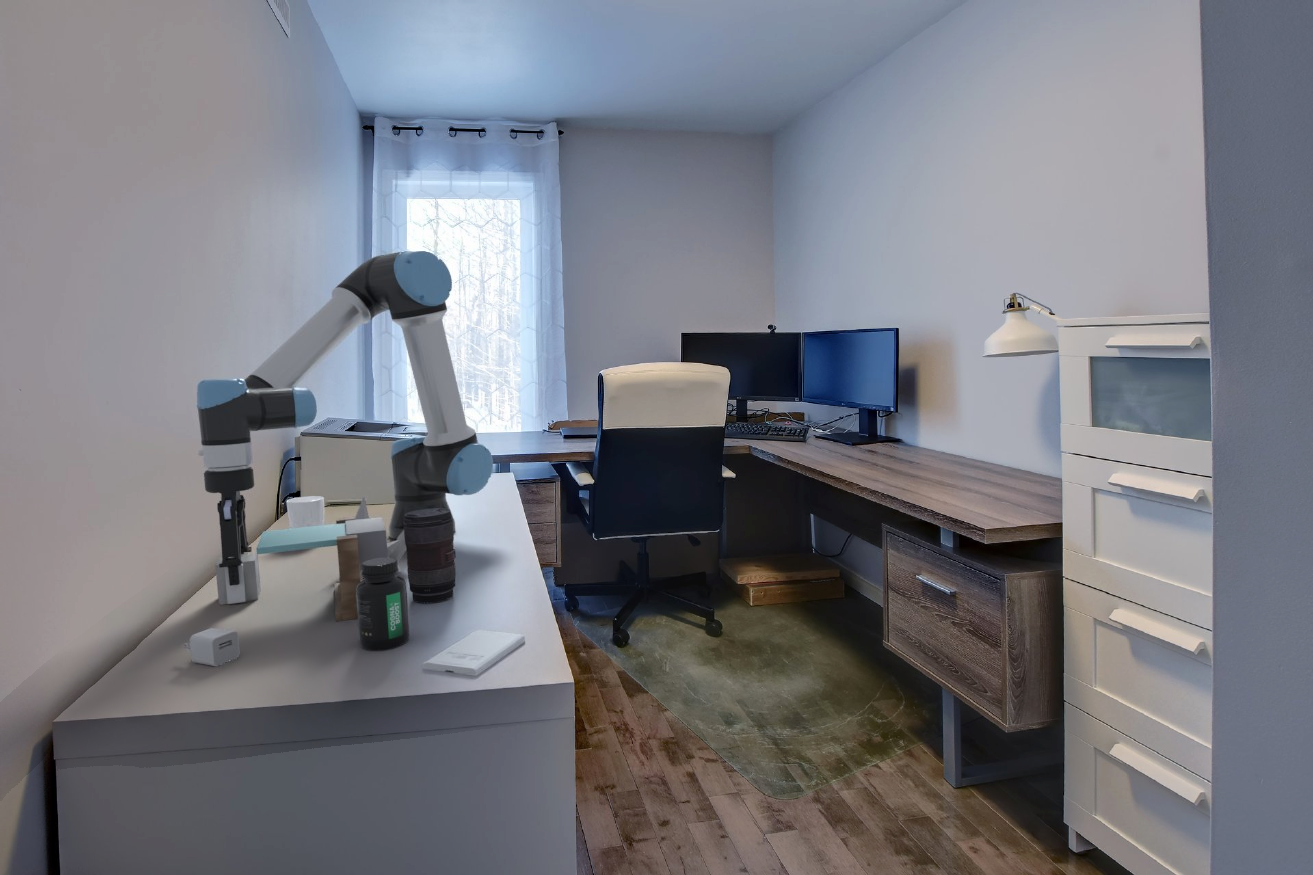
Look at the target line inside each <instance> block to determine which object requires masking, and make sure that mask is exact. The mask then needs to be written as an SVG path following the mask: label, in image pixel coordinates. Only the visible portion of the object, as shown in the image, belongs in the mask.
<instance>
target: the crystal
mask: <svg viewBox="0 0 1313 875" xmlns="http://www.w3.org/2000/svg"><path fill="white" fill-rule="evenodd" d="M369 516H370V515H369V511H368V507H367V502H366V498H365V496H363V497H362V500H361V502H360V504H359V507H358V509H357V511H356V514H355V516H354V520H359V519H369V518H370V517H369ZM406 552H407V550H406V545H405V537H404V530H403V531H402V533H401V534H400V535H399V536H398V538H397V539H396V540H393V541H391V540H390V539H388V540H387V553H388V558H395V559H396V560H397V564H399V562H400V561H401V559H402V558H403V556H404V554H405V553H406ZM359 568H360V580H362V579H361V578H364V577H362V574H361V573H362V563H359ZM400 569H401V568H400V566H399V565H398V572H399V570H400ZM400 571H401V570H400Z"/></svg>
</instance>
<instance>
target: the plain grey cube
mask: <svg viewBox="0 0 1313 875" xmlns="http://www.w3.org/2000/svg"><path fill="white" fill-rule="evenodd" d="M244 554H245V555H241V560H242V563H241V564H243V572H244V584H245V595H246V602H248V601H249V602H251V601H257V600H259V598H260V595H261V592H262V591H261V588H262V587H261V576H260V564H259V563H260V562H259V554H258V555H257V552H256V553H255V552H254V553H248V554H246V553H244ZM228 558H234V557H228ZM221 563H222V556H221V557H218V560H217V561H216V563H215V576H216V586H217V587H216V588H217V598H218V605H219V606H220V605H221V606H222V605H226V604H227V605H229V604H228V602H227V591H226V579H225V568H224V567H222V568H220V567H219V564H221Z"/></svg>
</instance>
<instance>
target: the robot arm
mask: <svg viewBox="0 0 1313 875" xmlns="http://www.w3.org/2000/svg"><path fill="white" fill-rule="evenodd" d="M452 289H453V280H452V275H451V272H450V270H449V268H448V266H447V264H446V263H445V261H444V260H443V259H441V258H440V257H439V256H438V255H436V253H434V252H432V251H430V250H426V249H406V250H403V251H396V252H393V253H388V254H380V255H376V256H373V257H371V258H369V259H367V260H366V261H364V262H363V263H362V264H360V265H359V266H358V267H356V269H354V270H353V271H352V272H351V273H350V274H348V275H347V276H346V277H345V278H344V279H343V280H342V281H341V282H340V283H339V284H337V285H336V287H335V288H334V289H332V291H331V299H329V301H327V302H326V303H325V304H324V305H323V306H321V307H320V308H319V310H318V311H317V312H315V313H314V314H313V315H312V316H311V317H310V318H309V319H308V320H307V321H305V322H304V324H303V325H302V326H301V327H299V329H297V330H296V331H295V332H294V333H293V334H292V335H291V336H290V337H289V338H287V339H286V341H285V342H283V343H282V344H281V346H279V347H278V348H276V350H275V351H274V352H273V353H272V354H271V355H270V356H269V357H267V358H266V359H265V360H264V362H262V363H261V364H260V365H259V366H258V367H257V368H256V369H255V370H253V372H251V373H250V375H248V376H247V377H246V378H220V379H217V378H215V379H213V378H212V379H203V380H200V381H199V383H198V384H197V387H196V389H197V390H196V391H197V392H196V402H197V404H196V407H197V408H196V409H197V411H198V414H197V415H198V420H199V431H200V438H201V439H200V440H201V443H200V444H201V449H200V450H198V452H197V455H198V456H199V457H201V456H203V457H202V461H203V463H202V465H203V468H205V469H207V470H205V471H204V473H203V477H204V489H205V491H206V492H207V493H210V494H221V495H220V500H219V501H218V502H217V512H218V516H219V517H218V518H219V528H220V529H219V530H220V544H221V545H220V546H221V557H222V563H221V564H219V567H220V568H222V567H224V568H225V579H226V591H227V602H228V604H227V605H230V604H239V603H246V602H247V601H246V595H245V584H244V572H243V564H241V563H242V560H241V555H245V554H249V553H252V551H253V550H252V546H249V542H248V536H247V535H248V534H247V525H246V498H245V497H244V495H243V494H241V492H243V491H248V490H251V489H253V488H254V486H255V476H254V468H252V467H251V466H250V465H252V464H253V462H254V461H253V460H254V459H253V448H252V439H251V432H258V431H267V430H268V431H270V430H280V429H281V430H282V429H283V430H284V429H297V428H301V427H309V426H310V425H311V424H313V422H314V421H315V419H316V416H317V413H318V412H317V411H318V410H317V409H318V408H317V407H318V406H317V400H316V398H315V395H314V393H313V392H312V391H311V390H310V389H309V388H308V387H304V386H299V384H301V382H302V381H304V379H305V378H306V377H308V375H310V373H312V371H313V370H315V369H316V368H317V367H318V366H319V364H321V363H322V362H323V361H324V359H326V358H327V357H328V356H329V355H330V354H331V353H332V352H333V351H334V350H335V349H336V348H337V347H338V346H339V345H340V344H341V343H342V342H343V341H344V340H345V339H346V338H347V337H348V336H349V335H350V334H351V333H352V332H353V331H354V330H355V329H356V328H357V327H358V326H359V325H365V324H369V323H370V322H371V321H372V320H373V319H374V317H376V316H377V315H380V314H381V313H384V312H387V311H389V313H390V317H391V321H392V322H394V323H395V324H397V325H399V326H400V328H401V330H402V334H403V338H404V342H405V343H404V344H405V346H406V350H407V355H408V359H409V364H410V367H411V370H412V375H413V378H414V382H415V386H416V390H417V395H418V398H419V402H420V407H421V411H422V414H423V418H424V423H425V426H426V431H427V434H426V436H425V435H424V436H417V437H411V438H402V439H397V440H395V441H393V443H392V444H391V456H390V458H391V465H392V476H393V477H392V479H393V480H392V481H393V491H394V492H393V493H394V506H393V509H392V514H391V518H390V521H389V525H388V534H389V535H388V536H389V538H390V539H394V540H397V538H398V536H399V535H400V534H401V533H402V531H403V530H404V524H403V523H404V518H405V516H404V515H405V514H406V513H408V512H412V511H416V510H422V509H432V508H446V509H450V510H451V508H450V506H449V504H448V501H447V497H446V496H447V494H450V495H454V496H471V495H475V494H478V493H479V492H480V491H481V490H483V489H484V488H485V487H486V486H487V484H488V482H489V479H490V478H491V477H492V475H493V474H492V473H493V471H494V470H493V469H494V468H493V467H494V460H493V456H492V453H491V451H490V450H489V448H488V447H485V445H483V444H482V443H479V441H478V437H477V433H476V430H475V429H474V428H472V427H471V426H469V425H468V424H467V419H466V416H465V412H464V407H463V403H462V398H461V394H460V391H459V387H458V382H457V378H456V377H457V376H456V374H455V370H454V364H453V359H452V357H451V352H450V347H449V344H448V340H447V334H446V331H445V330H446V329H445V327H444V322H443V318H444V316H445V315H446V314H447V312H448V308H447V304H446V301H447V300H448V299H449V297H450V295H451V291H452ZM451 515H452V518H453V529H454V532H455V531H456V521H455V518H454V515H453V513H452V512H451ZM228 557H234V558H228Z"/></svg>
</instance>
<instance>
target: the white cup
mask: <svg viewBox="0 0 1313 875" xmlns="http://www.w3.org/2000/svg"><path fill="white" fill-rule="evenodd" d="M286 507H287V508H286V509H287V515H288V522H289V523H288V524H289V529H291V528H301V527H311V526H321V525H325V497H323V496H319V495H318V496H317V495H311V496H310V495H309V496H308V495H307V496H301V497H300V496H299V497H294V498H290V499H287V500H286Z"/></svg>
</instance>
